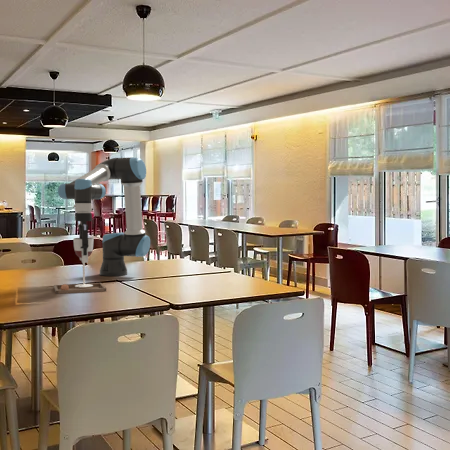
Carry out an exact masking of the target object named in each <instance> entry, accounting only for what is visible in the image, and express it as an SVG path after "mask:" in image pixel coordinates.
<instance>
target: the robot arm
mask: <svg viewBox="0 0 450 450" xmlns="http://www.w3.org/2000/svg"><path fill="white" fill-rule="evenodd" d="M146 167H147V166H146V164H145V161H144V160H143V159H141V158H140V157H134V156H133V157H132V156H131V157H113V158H110V159H106V160H104V161H102V162H100V163H99V164H96V165H95V167H94V169H92V170H90V171H88V172H86V173H85V174H83V175H82V176H80V177H78V178H76V179H74V180H73V181H71V182H69V183H67V182H66V183H61V184H59V185H58V189H57V194H58V196H59V198H60V199H63V200H74V205H73V208H74V211H75V213H74V221H75V222H80V223H79V224H78V232H79V234H78V235H79V237H78V238H80V239H82V247H80V248H82V258H80V257H79V261H81V263H82V264H83V263H89V257H88V246H89V245H88V238H89V225H88V224H87V223H88V222H91V221H92V220H93V218H92V217H93V215H92V211H93V203H92V200H101V199H103V198H104V197H105V196H106V194H107V193H106V192H107V190H106V187H105V186H104V185H103V184H102V182H107V181H108V180H120V184H121V185H122V186H123V193H124V194H123V195H124V205H125V223H126V224H125V226H126V231H124V232H114V233H107V234H104V235H103V236H102V262H101V265H100V268H99V276H103V277H119V276H126V275H128V268H127V266H126V261H125V257H136V258H139V257H142V258H143V257H145V256H147V255H148V254H149V251H150V247H151V239H150V238H151V237H150V235H149V236H148V235H147V234H146V233H147V232H146V230H144V228H143V214H142V211H143V210H142V199H141V197H142V196H141V185H142V184H143V182H144V181H143V180H145V179H146V176H147V168H146Z"/></svg>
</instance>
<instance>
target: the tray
mask: <svg viewBox="0 0 450 450" xmlns="http://www.w3.org/2000/svg"><path fill="white" fill-rule="evenodd" d="M80 284H81V283H72V284H67V285H68V287H69V289H68V290H61V286H62V285H63V284H54V285H53V289H54V292H55V295H63V294H81V293H83V294H84V293H100V292H101V293H102V292H104V293H105V292H107V287H106V286H105V285H104V284H103V283H102V282H96V283H95V282H93V283H91V282H90V284H91V285H93V286H90V287H75V285H80Z"/></svg>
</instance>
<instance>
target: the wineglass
mask: <svg viewBox="0 0 450 450" xmlns="http://www.w3.org/2000/svg"><path fill="white" fill-rule="evenodd" d="M88 245H89V246H88V258H89V257H90V256H91V255H92V254H93V249H94V237H88ZM80 247H82V239H80V238H79V237H74V238H73V249H74V252H75V255H76V257H78V258H79V259H80V258H82V248H80ZM85 267H86V264H85V263H82V283H79V284H80V285H75V287H90V286H93V285H91V283H86V268H85Z"/></svg>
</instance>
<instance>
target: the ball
mask: <svg viewBox="0 0 450 450" xmlns="http://www.w3.org/2000/svg"><path fill="white" fill-rule="evenodd" d="M61 285H62V286H61V290H68V289H69V287H68V285H69V284H65V283H64V284H63V283H62V284H61Z"/></svg>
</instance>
